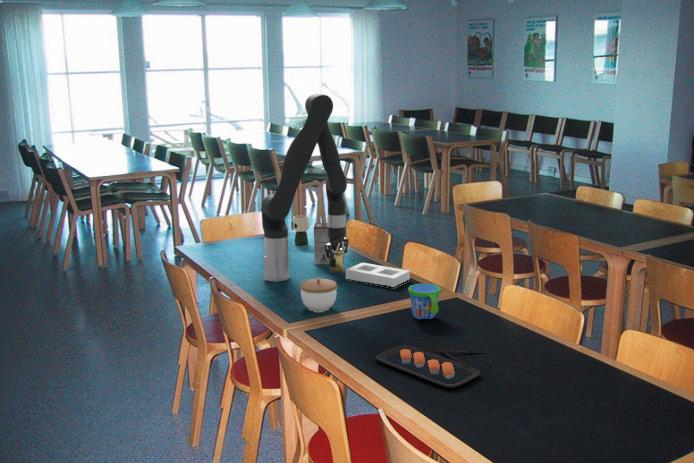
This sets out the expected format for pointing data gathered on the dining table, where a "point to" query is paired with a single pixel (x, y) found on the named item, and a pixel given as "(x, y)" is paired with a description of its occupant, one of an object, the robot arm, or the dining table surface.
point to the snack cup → (424, 300)
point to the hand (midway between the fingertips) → (337, 265)
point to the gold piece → (338, 262)
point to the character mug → (300, 229)
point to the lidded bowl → (318, 294)
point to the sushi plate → (432, 364)
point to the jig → (377, 274)
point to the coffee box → (320, 243)
